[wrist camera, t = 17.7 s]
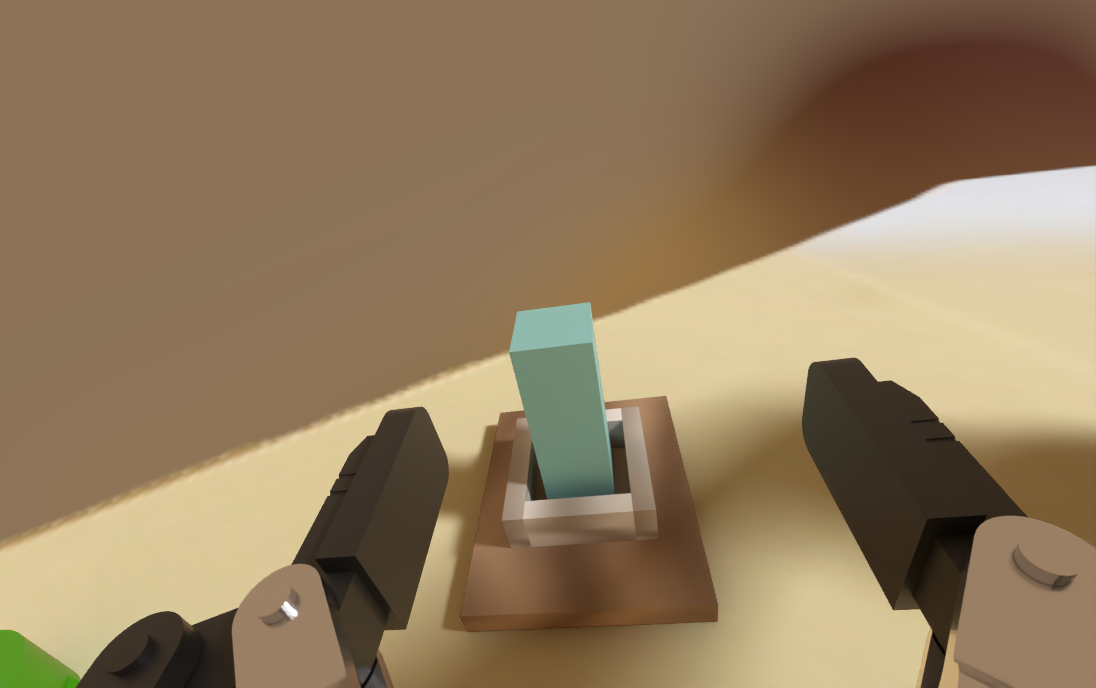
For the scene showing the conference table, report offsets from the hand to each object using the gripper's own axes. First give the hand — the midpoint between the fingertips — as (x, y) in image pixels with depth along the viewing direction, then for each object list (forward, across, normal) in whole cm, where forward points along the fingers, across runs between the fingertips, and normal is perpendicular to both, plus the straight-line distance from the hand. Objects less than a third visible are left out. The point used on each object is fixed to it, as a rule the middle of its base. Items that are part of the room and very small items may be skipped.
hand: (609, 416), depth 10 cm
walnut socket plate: (+13, +3, +19) cm, 23 cm away
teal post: (+13, +3, +18) cm, 22 cm away
